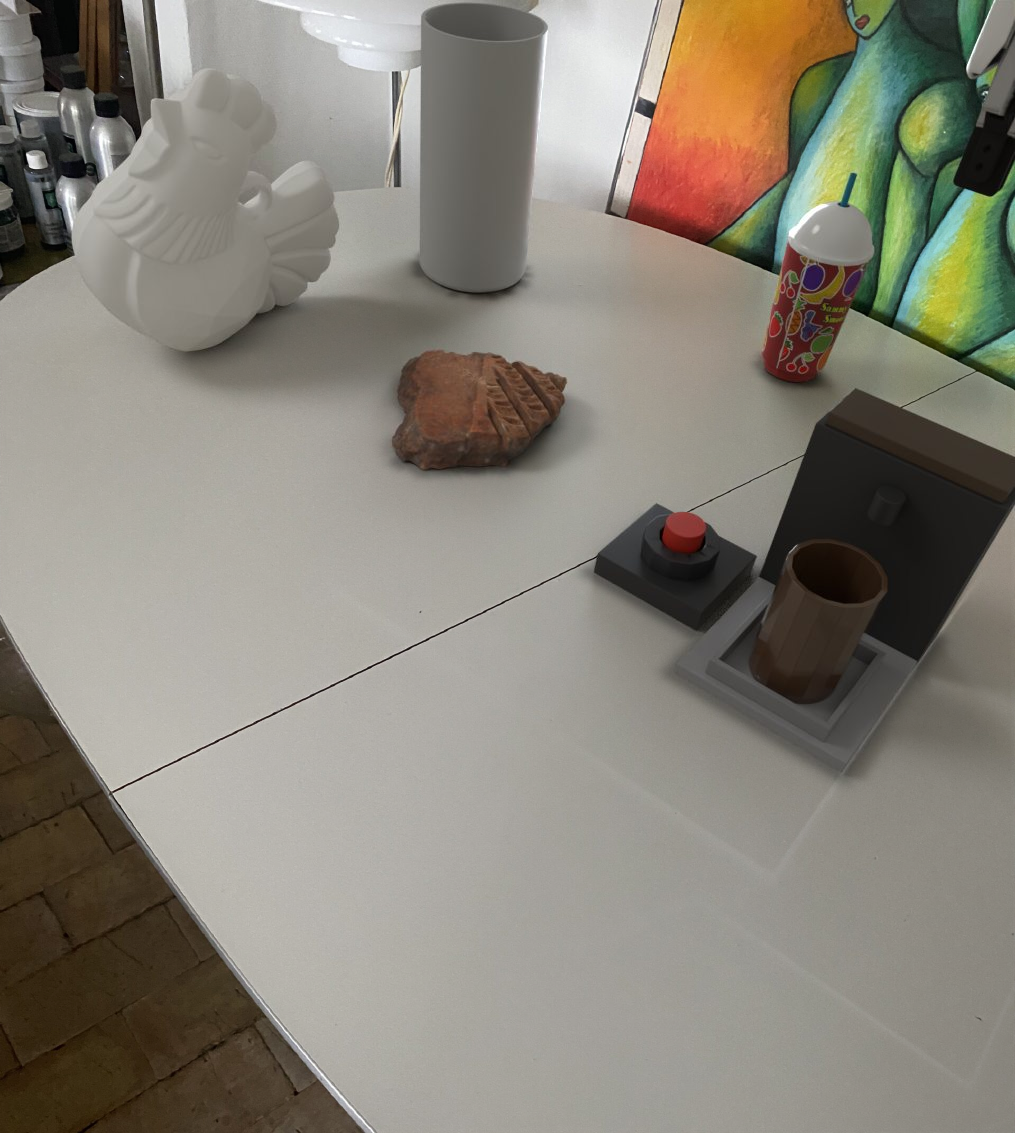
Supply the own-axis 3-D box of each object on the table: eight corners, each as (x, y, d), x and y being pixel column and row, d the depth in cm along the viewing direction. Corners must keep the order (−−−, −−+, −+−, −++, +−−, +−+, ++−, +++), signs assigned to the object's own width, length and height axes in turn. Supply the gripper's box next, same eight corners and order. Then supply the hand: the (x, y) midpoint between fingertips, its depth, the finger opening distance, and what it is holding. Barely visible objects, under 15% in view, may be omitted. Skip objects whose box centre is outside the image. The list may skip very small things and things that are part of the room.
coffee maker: (935, 637, 77) (1039, 464, 64) (840, 773, 67) (941, 601, 55) (782, 557, 82) (850, 382, 70) (673, 673, 72) (729, 494, 60)
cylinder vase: (397, 262, 112) (395, 12, 94) (477, 236, 118) (489, -4, 100) (467, 306, 107) (479, 49, 88) (547, 276, 113) (574, 30, 94)
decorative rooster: (59, 327, 85) (204, 92, 73) (33, 219, 92) (162, -13, 80) (286, 418, 104) (431, 242, 92) (251, 322, 111) (382, 147, 99)
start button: (708, 540, 77) (713, 523, 76) (688, 559, 76) (693, 543, 74) (675, 522, 79) (679, 506, 77) (654, 541, 77) (658, 524, 76)
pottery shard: (561, 386, 98) (566, 350, 95) (568, 478, 87) (573, 441, 84) (402, 375, 97) (402, 339, 94) (389, 466, 86) (389, 429, 84)
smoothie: (811, 399, 99) (882, 201, 84) (738, 371, 102) (795, 174, 87) (839, 366, 104) (910, 173, 89) (768, 340, 107) (827, 148, 92)
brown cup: (853, 667, 73) (903, 570, 65) (813, 719, 69) (862, 622, 61) (774, 624, 75) (814, 525, 68) (731, 672, 71) (769, 573, 64)
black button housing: (750, 575, 80) (763, 539, 78) (695, 632, 76) (707, 595, 73) (651, 522, 84) (660, 485, 81) (593, 573, 79) (600, 536, 76)
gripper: (1087, -161, 61) (963, 146, 75) (1010, -140, 53) (887, 200, 67) (1210, -138, 58) (1058, 176, 72) (1149, -113, 50) (990, 237, 64)
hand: (976, 187), depth 69 cm, fingers closed
